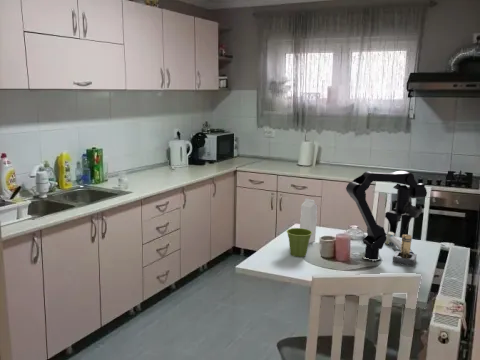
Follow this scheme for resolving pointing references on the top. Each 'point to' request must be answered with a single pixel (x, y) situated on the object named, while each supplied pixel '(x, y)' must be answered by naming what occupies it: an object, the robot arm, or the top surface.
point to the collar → (404, 259)
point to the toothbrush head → (394, 241)
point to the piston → (405, 245)
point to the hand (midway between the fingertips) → (399, 231)
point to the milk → (309, 217)
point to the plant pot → (298, 241)
